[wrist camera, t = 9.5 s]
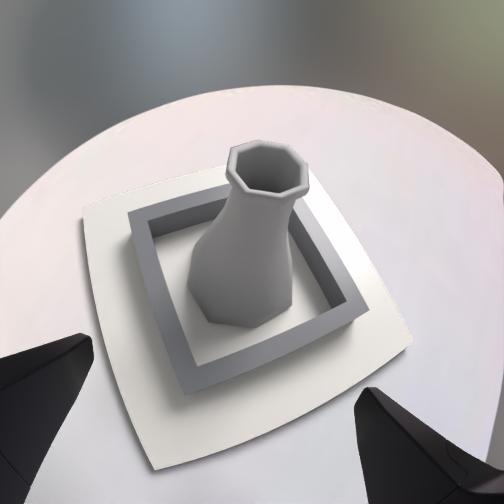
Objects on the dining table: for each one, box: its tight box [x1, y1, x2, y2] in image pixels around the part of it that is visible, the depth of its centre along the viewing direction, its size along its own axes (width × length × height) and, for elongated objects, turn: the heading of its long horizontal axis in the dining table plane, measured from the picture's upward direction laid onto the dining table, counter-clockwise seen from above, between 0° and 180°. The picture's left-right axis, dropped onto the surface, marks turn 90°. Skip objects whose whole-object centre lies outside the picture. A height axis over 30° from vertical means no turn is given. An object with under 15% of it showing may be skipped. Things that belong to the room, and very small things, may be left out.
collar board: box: [83, 151, 414, 470], centre depth 18 cm, size 20×20×3 cm
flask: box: [187, 140, 310, 328], centre depth 14 cm, size 7×7×10 cm
